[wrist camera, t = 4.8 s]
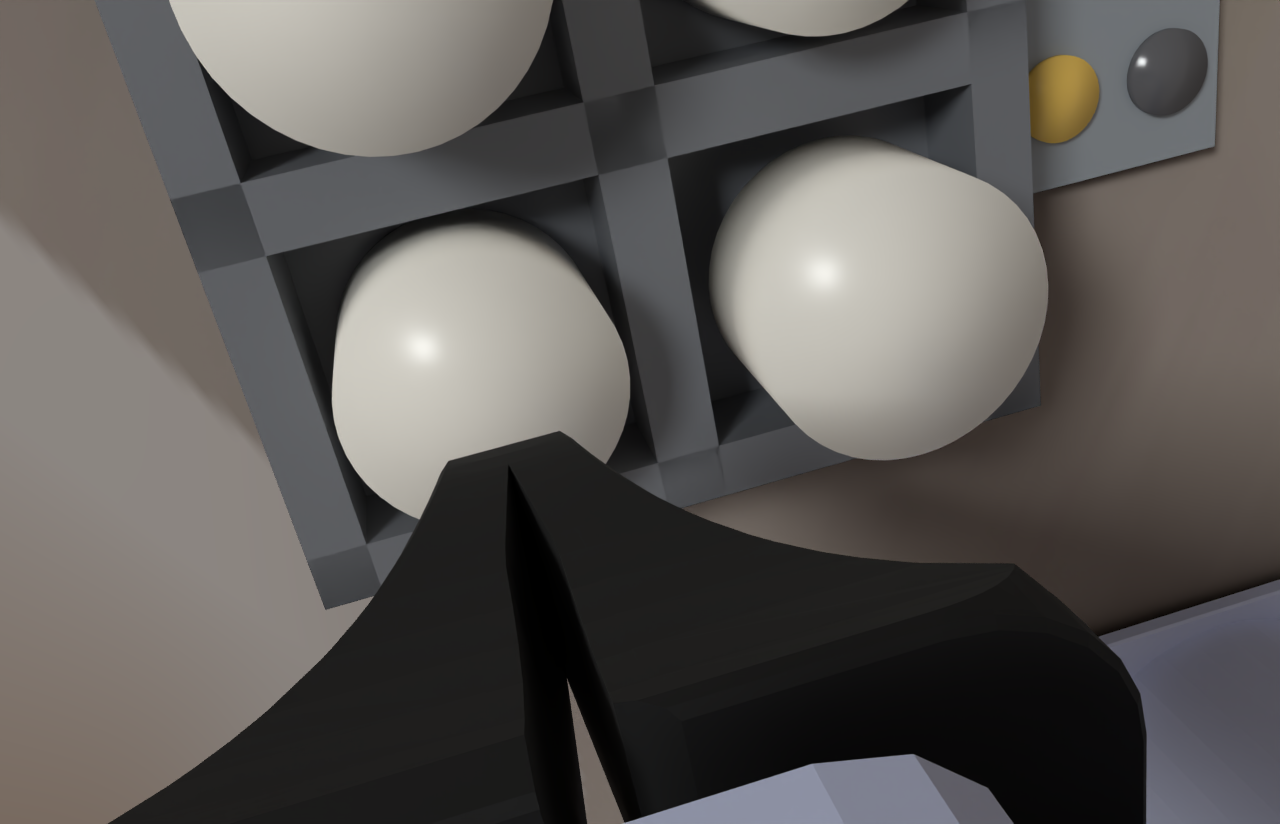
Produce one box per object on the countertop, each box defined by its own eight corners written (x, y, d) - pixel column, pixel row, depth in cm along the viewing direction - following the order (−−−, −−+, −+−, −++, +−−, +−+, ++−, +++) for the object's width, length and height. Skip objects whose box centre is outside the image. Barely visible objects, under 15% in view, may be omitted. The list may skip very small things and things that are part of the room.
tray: (975, 360, 21) (1041, 405, 19) (329, 539, 19) (325, 609, 17) (925, -426, 15) (1008, -477, 13) (36, -264, 14) (-17, -296, 12)
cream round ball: (617, 416, 19) (654, 485, 16) (379, 480, 18) (381, 563, 16) (566, 180, 17) (598, 221, 14) (300, 245, 16) (290, 297, 14)
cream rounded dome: (963, 354, 18) (1052, 416, 16) (730, 419, 18) (786, 493, 15) (947, 107, 16) (1043, 137, 14) (687, 171, 16) (743, 212, 14)
